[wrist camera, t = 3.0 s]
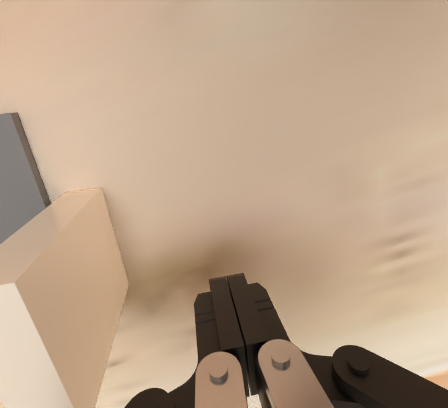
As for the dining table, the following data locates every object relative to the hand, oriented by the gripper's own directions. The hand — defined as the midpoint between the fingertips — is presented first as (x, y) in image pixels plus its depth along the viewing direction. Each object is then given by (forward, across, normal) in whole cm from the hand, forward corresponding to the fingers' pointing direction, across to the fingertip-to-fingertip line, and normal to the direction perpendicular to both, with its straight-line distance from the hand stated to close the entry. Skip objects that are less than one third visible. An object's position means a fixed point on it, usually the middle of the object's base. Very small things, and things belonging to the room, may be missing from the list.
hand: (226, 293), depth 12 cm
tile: (+7, +7, 0) cm, 10 cm away
